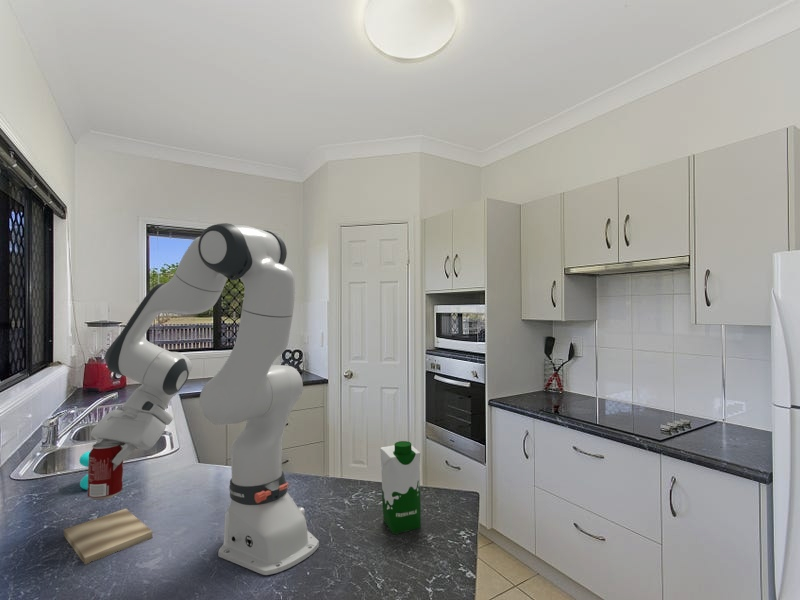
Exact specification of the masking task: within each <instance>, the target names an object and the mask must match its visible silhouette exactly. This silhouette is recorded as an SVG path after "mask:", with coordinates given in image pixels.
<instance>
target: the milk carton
mask: <svg viewBox="0 0 800 600" xmlns="http://www.w3.org/2000/svg"><path fill="white" fill-rule="evenodd" d="M379 448H380V449H379V450H380V461H381V464H380V465H381V497H382V499H381V501H382V503H381V504H382V517H383V518H382V519H383V521H384V523H385V525H386V526H387V527H388V529H389V530H390V531H391V533H392V535H395V534H401V533H404V532H409V531H413V530H416V529H417V530H418V529H421V527H422V522H421V520H422V519H421V516H422V515H421V514H422V513H421V511H422V510H421V508H422V507H421V506H422V505H421V476H420V475H421V473H420V472H421V471H420V465H421V463H420V462H421V452H420V451H419V450H418V449H417V448H415V447H414V445H412V442H410V441H408V440H407V441H406V440H400V441H399V440H398V441H396V442H394V444H393V445H388V446H382V447H379Z"/></svg>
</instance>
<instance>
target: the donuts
mask: <svg viewBox="0 0 800 600" xmlns="http://www.w3.org/2000/svg"><path fill="white" fill-rule="evenodd" d="M90 452H91V450H89V451H87V452H85V453H82V455H81V456H80V457H79V464H80V465H82V466H83V467H86V468H88V465H89V453H90ZM79 487H80V488H81V489H83V490H86V491H88V474H86V475H84V476H83V477H82V478H81V480H80V482H79Z"/></svg>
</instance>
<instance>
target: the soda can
mask: <svg viewBox="0 0 800 600" xmlns="http://www.w3.org/2000/svg"><path fill="white" fill-rule="evenodd" d="M120 444H121V442H118V441H105V442H100V443H97V444H96V443H94V444H93V445H92V448H91V450H90V451H91V452H90V453H89V465H88V467H87V469H88V472H87V473H88V474H87V475H88V490H87V497H88V499H91V500H93V501H94V500H95V501H102V500H107V499H111V498H113V497H116V496H117V495H119V494H121V492H122V491H123V479H124V460H123V461H122V462H121V463H120V464H119V465H115V464H112V463H111V462H110V460H111V458H112V457H113V456H114V454H115V455H117V454H118V453H119V452H120V451H121V450H122V449H123V446H121V445H120Z"/></svg>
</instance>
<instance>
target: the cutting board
mask: <svg viewBox="0 0 800 600" xmlns="http://www.w3.org/2000/svg"><path fill="white" fill-rule="evenodd" d="M63 537H64V538H65V539H66V541H67V542H68V544H70V546H71V548H72V549H73V550H74V552H75V553H76V555H77V556H78V558H79V559H80V560H81V561H82V563H83V562H84V563H83V564H84V565H85V564H86V565H88V564H91V563H92V562H91V561H93V562H95V561H94V560H96V561H98V560H101V559H103V558H105V556H106V557H108V556H110V554H111V555H113V554H115V552H116V553H117V551H118V552H121V551H123V550H125V549H128V548H131V547H133V546H135V545H138V544H141V543H143V542H145V541H148V540H151V539H153V530H151V529H150V528H149V527H148V526H147V525H146V524H145V523H144V522H142V521H141V520H140V519H139V518H138V517H136V516H135V515H134V514H133V513H132V512H131V511H130V510H129V509H127V508H123V509H120V510H117V511H115V512H111V513H108V514H106V515H103V516H99V517H97V518H93V519H91V520H88V521H85V522H82V523H79V524H77V525H73V526H71V527H67V528H63ZM120 550H121V551H120ZM112 553H113V554H112ZM107 555H108V556H107ZM100 558H101V559H100ZM97 559H98V560H97ZM90 562H91V563H90ZM87 563H88V564H87Z"/></svg>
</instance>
